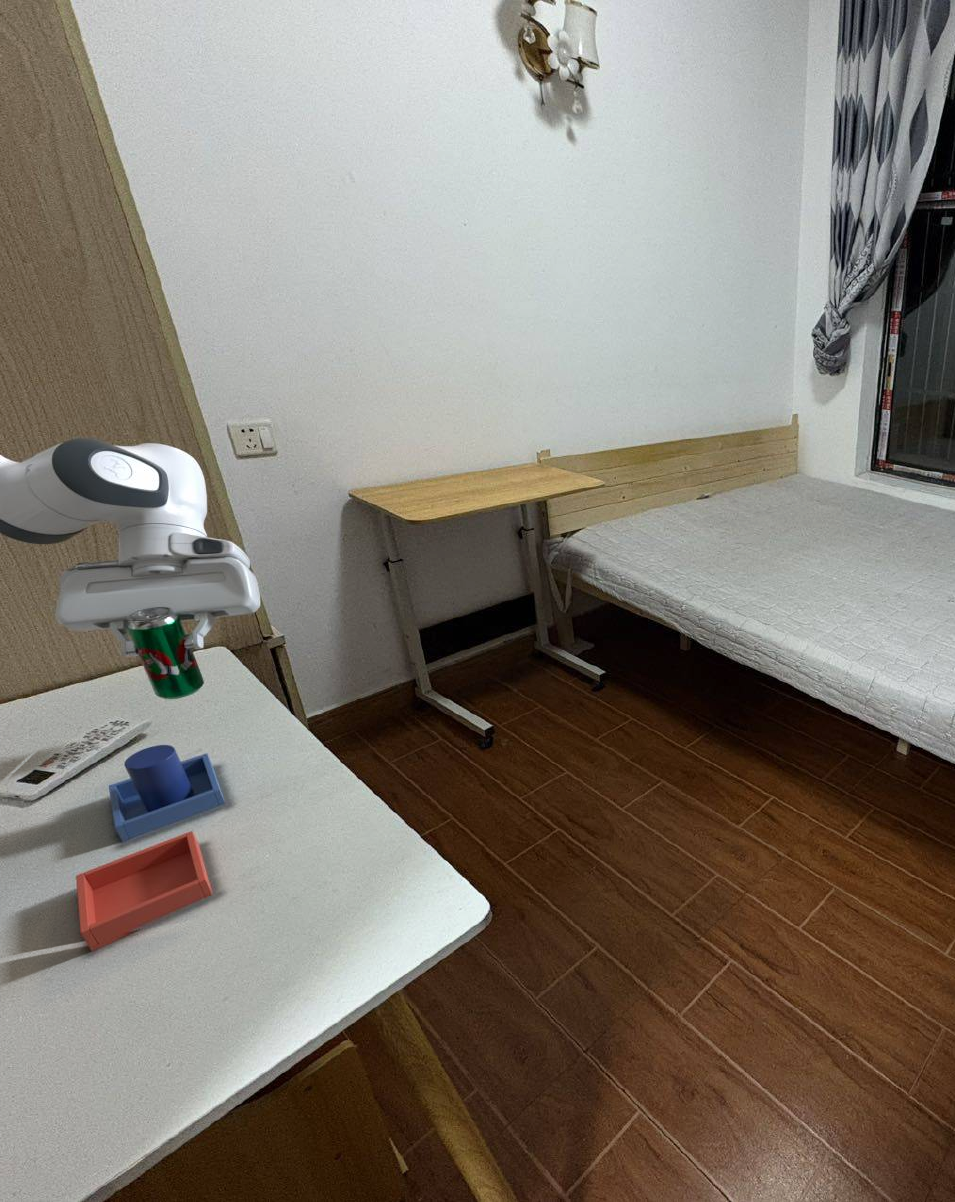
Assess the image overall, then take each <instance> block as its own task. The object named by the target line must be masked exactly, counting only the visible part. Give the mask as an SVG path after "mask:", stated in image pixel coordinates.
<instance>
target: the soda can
mask: <svg viewBox="0 0 955 1202" xmlns="http://www.w3.org/2000/svg"><path fill="white" fill-rule="evenodd" d="M128 621H129V622H128V624H127V626H126V627H127V630H128V632H129V636H130V637H129V638H130V639H131V640H132V641H133V644H134V646H135V648H136V651H137V653H138V655H139V656H138V657H139V661H140V662H141V665H142V667H143V669H144V671H145V674H146V677H147V679H148V681H149V683H150V686H151V688H152V690H153V693H154V694H155V696H156V697H158V698H161V699H164V700H177V699H183V698H186V697H190V696H191V695H193V694H196V693H197V692H199V691H200V690H201V688H203V687H204V684H205V680H204V678H203V674H202V672H201V669H200V666H199V664H198V662H197V659H196V656H195V654H194V651H193V650H188V649H186V648H185V647H184V642H185V640H184V635H186V634H187V632H186V630H185V628H184V625H183V623H182V621H181V620H180V617H179V615H178V614H176V613H174V612H173V610H172V609H171V608H169V607H153V608H148V609H143V610H140V611H137V612H135V613H133V614H131V615H130V616H128Z"/></svg>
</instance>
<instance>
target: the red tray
mask: <svg viewBox="0 0 955 1202" xmlns="http://www.w3.org/2000/svg"><path fill="white" fill-rule="evenodd" d="M75 880H76V892H77V906H78V919H79V931H80V933H79V934H80V935H81V937H82V938H83V940H84V941H85V943H86V945H87V946H88V948H89V950H90V951H91V952H94V951H97V950H98V949H101V948H103V947H106V946H107V945H110V944H112V943H114V942H116V941H119V940H121V939H123V938H125V937H128V936H130V935H132V934H135V933H136V932H139V931H140V929H138V928H140V927H143V926H145V925H147V924H149V923H152V922H153V921H156V920H159V919H161V918H163V917H165V916H167V915H169V914H172V913H174V912H176V911H178V910H179V911H180V910H181V909H183V908H185V907H188V906H189V905H192V904H194V903H196V902H199V901H202V900H203V899H206V898H208V897H210V896H213V891H212V887H211V883H210V879H209V876H208V873H207V870H206V865H205V861H204V858H203V855H202V851H201V847H200V844H199V842H198V840H197V838H196V836H195V833H194V831H193V830H191V831H188V832H185V833H183V834H180V835H177V836H175V837H172V838H170V839H168V840H165V841H162V842H158V843H156V844H154V845H152V846H149V847H147V848H144V849H141V850H139V851H136V852H134V853H130V854H129V855H125V856H123V857H120V858H118V859H115V860H112V861H110V862H108V863H105V864H103V865H100V866H97V867H95V868H92V869H90V870H87V871H85V872H82V873H79V874H77V875H75ZM135 929H136V930H135Z"/></svg>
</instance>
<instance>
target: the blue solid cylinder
mask: <svg viewBox="0 0 955 1202" xmlns="http://www.w3.org/2000/svg"><path fill="white" fill-rule="evenodd" d="M181 762H182V761H181V760H180V758H179V755H178V753H177V750H176V749H175V747H174V746H172V745H169V744H158V745H153V746H149V747H146V748H143V749H141V750H138V751H137V752H134V753H133V754H131V755H129V756H128V757H127V759H125V761H124V768H125V770H126V772H127V773H128V776H129V777H130V778H131V780H132V782H133V784H134V786H135V788H136V790H137V792H138V794H139V796H140V798H141V800H142V802H143V804H144V806H145V808H146V810H147V811H148V812H152V811H154V810H157V809H160V808H163V807H166V806H168V805H171V804H174V803H177V802H179V801H182V800H185V799H188V798H191V797H193V796H194V791H193V789H192V787H191V784H190V782H189V780H188V778H187V775H186V773H185V771H184V769H183V766H182V764H181ZM130 778H129V779H130Z"/></svg>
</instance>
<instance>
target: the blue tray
mask: <svg viewBox="0 0 955 1202" xmlns="http://www.w3.org/2000/svg"><path fill="white" fill-rule="evenodd" d="M180 762H181V764H182V766H183V769H184V771H185V773H186V775H187V778H188V780H189V782H190V784H191V787H192V789H193V791H194V796H193V797H191V798H188V799H185V800H182V801H179V802H177V803H174V804H171V805H168V806H166V807H163V808H160V809H157V810H154V811H152V812H148V811H147V810H146V808H145V806H144V804H143V802H142V800H141V798H140V796H139V794H138V792H137V790H136V788H135V786H134V784H133V782H132V780H131V778H127V779H124V780H121V781H119V782H116V783H112V784H110V785H108V792H109V798H110V805H111V811H112V818H113V824H114V829H115V831H116V833H117V835H118V836H119V838H120V840H121V842H122V843H124V842H127V841H129V840H132V839H135V838H138V837H140V836H143V835H147V834H148V833H151V832H154V831H156V830H159V829H162V828H164V827H168V826H169V825H172V824H174V823H177V822H180V821H183V820H186V819H189V818H190V817H193V816H196V815H198V814H202V813H204V812H207V811H210V810H212V809H215V808H218V807H221V806H223V805H225V804H226V800H225V798H224V795H223V792H222V789H221V786H220V784H219V780H218V776H217V773H216V772H215V769H214V765H213V764H212V761H211V759H210V756H209V754H208V752H207V753H204V754H200V755H197V756H195V757H191V758H189V759H188V758H187V759H185V760H182V761H180Z"/></svg>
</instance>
